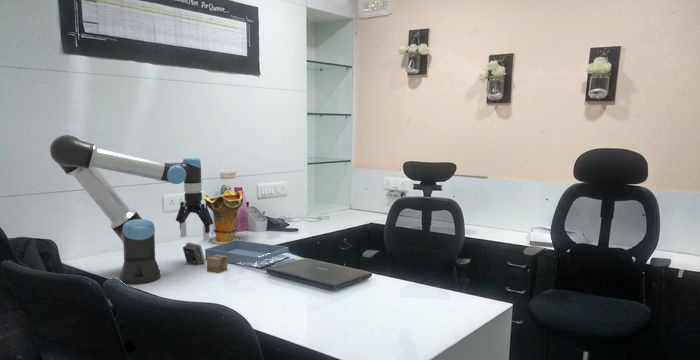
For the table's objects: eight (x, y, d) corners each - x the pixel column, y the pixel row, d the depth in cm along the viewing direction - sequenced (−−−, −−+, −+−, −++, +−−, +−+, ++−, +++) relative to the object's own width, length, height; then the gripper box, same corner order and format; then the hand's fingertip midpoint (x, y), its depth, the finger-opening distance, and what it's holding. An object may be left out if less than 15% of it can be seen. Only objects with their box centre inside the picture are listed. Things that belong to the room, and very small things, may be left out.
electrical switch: (205, 263, 221) (203, 243, 219) (196, 267, 217) (194, 247, 215) (192, 260, 226) (190, 241, 225) (183, 263, 222) (181, 244, 220)
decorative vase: (195, 243, 258) (196, 190, 257) (220, 236, 280) (221, 188, 278) (229, 246, 251) (230, 192, 250) (251, 239, 273) (253, 190, 272)
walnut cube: (217, 273, 206) (217, 259, 206) (206, 271, 209) (206, 257, 208) (227, 269, 212) (227, 256, 211) (216, 267, 214) (216, 254, 214)
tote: (260, 268, 213) (260, 257, 213) (205, 259, 228) (205, 248, 227) (288, 257, 233) (288, 247, 232) (236, 249, 247) (236, 239, 247)
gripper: (220, 192, 216) (221, 239, 218) (179, 189, 227) (180, 233, 229) (208, 194, 209) (210, 242, 211) (166, 191, 220) (168, 237, 223)
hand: (194, 238), depth 220 cm, fingers open, 13 cm apart
